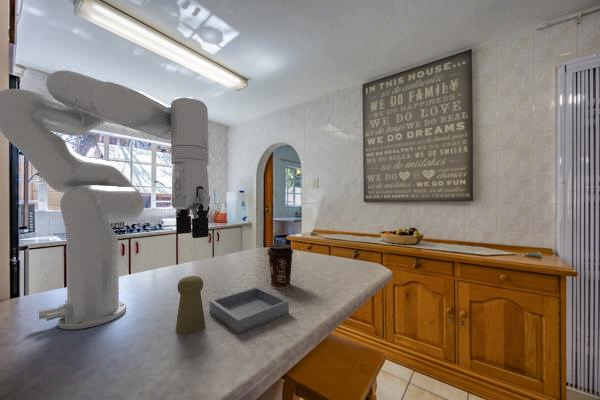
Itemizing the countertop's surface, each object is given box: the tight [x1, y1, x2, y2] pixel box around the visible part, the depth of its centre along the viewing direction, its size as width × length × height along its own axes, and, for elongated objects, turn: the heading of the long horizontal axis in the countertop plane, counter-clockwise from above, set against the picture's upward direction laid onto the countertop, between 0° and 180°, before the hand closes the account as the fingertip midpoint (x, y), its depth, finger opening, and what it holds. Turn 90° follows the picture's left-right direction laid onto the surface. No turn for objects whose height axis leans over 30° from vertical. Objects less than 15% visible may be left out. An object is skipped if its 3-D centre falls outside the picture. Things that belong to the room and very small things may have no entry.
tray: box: [209, 286, 290, 335], centre depth 62 cm, size 14×14×3 cm
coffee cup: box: [267, 243, 294, 290], centre depth 81 cm, size 9×8×13 cm
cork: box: [175, 275, 206, 336], centre depth 55 cm, size 6×6×11 cm
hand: (191, 235), depth 55 cm, fingers open, 9 cm apart
